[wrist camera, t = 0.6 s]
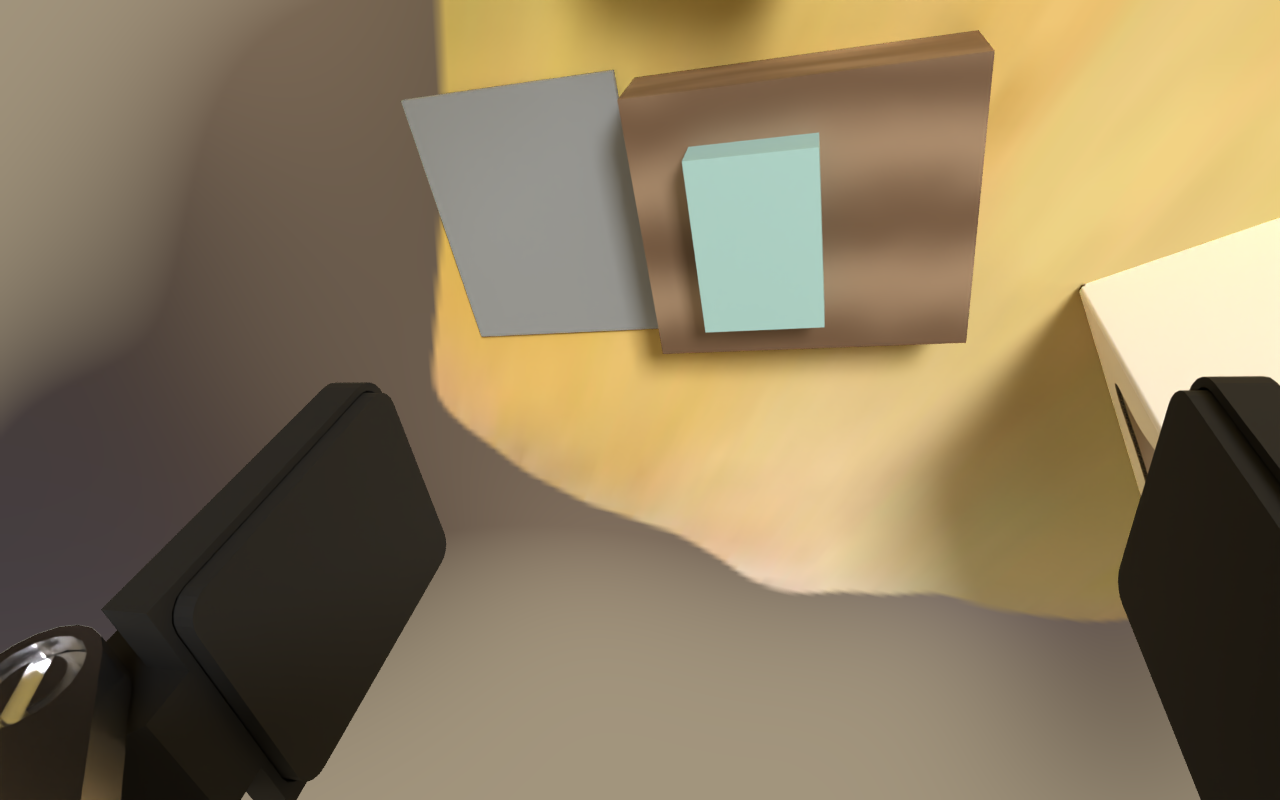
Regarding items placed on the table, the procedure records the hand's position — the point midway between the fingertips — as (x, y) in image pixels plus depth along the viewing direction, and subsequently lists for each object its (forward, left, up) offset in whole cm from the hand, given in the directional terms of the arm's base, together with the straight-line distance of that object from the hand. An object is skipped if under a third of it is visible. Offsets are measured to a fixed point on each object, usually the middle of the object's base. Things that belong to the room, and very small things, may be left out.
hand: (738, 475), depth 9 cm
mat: (+9, -15, -32) cm, 36 cm away
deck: (+9, 0, -32) cm, 33 cm away
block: (+9, -2, -28) cm, 29 cm away
